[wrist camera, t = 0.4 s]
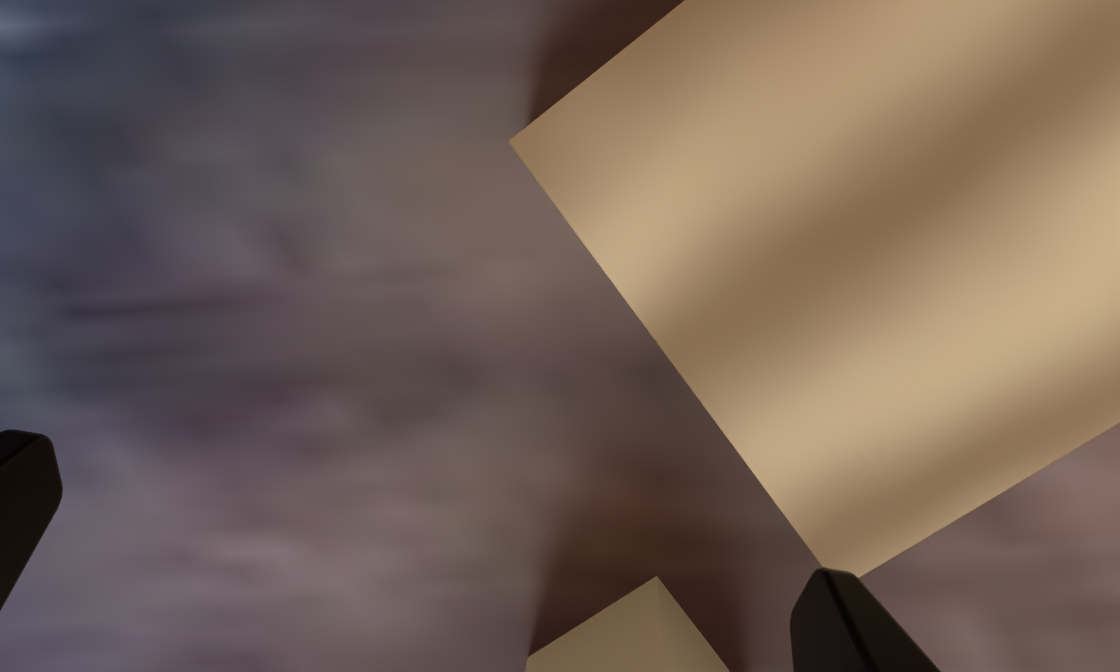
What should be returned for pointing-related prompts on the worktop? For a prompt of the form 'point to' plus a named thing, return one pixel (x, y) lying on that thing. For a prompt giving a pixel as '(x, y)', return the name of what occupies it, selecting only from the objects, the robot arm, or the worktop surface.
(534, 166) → the birch plinth
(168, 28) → the worktop surface
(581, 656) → the beige block
